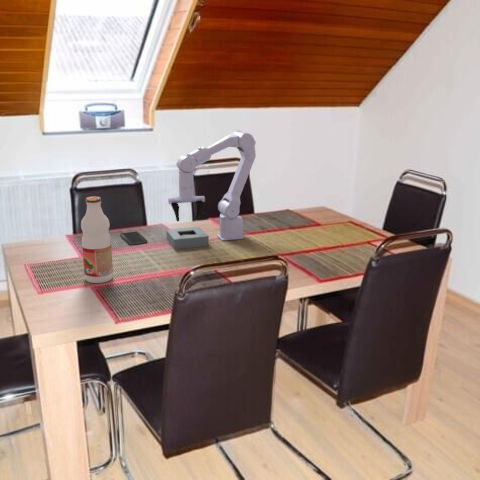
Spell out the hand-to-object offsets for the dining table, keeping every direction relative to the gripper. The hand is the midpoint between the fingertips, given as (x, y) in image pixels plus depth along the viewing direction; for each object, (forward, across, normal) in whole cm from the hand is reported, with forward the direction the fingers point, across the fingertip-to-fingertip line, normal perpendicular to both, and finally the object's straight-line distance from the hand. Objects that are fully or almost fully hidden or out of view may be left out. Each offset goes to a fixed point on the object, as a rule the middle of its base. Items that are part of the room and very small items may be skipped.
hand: (187, 219), depth 223 cm
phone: (+10, -20, +11) cm, 25 cm away
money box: (+9, 0, 0) cm, 9 cm away
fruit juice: (+10, -38, -29) cm, 49 cm away
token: (+10, 0, 0) cm, 10 cm away
